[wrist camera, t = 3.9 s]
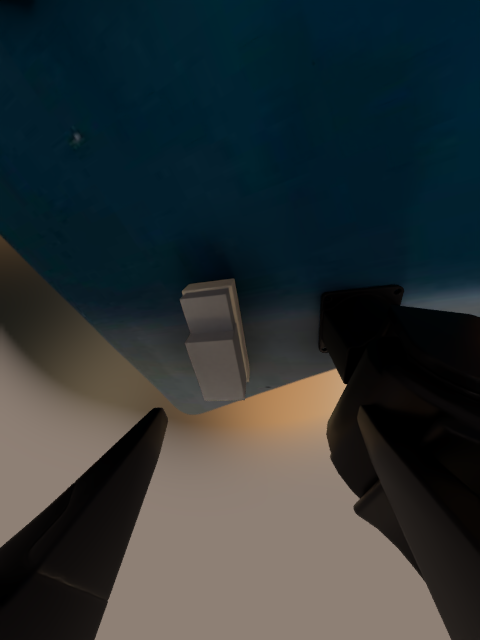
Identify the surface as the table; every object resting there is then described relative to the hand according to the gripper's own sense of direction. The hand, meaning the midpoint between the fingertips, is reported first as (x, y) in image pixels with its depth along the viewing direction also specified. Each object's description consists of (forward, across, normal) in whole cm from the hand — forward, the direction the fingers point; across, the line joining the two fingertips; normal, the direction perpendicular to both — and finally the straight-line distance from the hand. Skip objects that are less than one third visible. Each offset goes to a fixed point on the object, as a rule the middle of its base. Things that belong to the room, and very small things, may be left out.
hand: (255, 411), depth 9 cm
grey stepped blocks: (+11, +4, +2) cm, 12 cm away
